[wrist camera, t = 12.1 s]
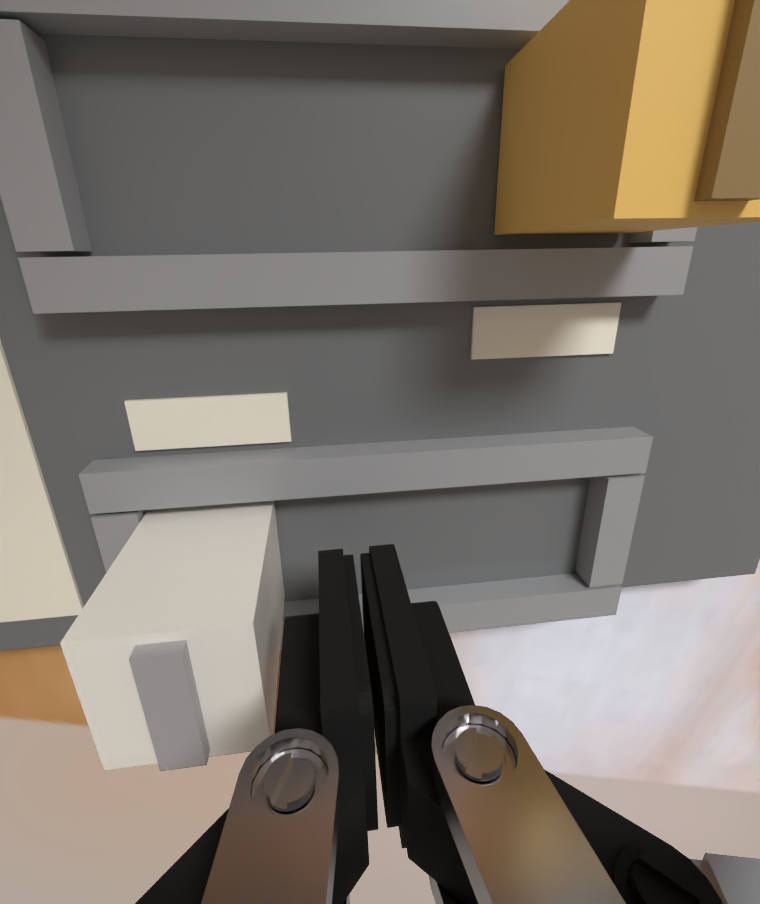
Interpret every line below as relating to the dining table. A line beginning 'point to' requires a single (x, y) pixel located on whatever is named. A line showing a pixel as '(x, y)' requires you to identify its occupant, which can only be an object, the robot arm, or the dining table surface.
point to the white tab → (183, 638)
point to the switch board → (345, 318)
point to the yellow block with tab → (633, 119)
